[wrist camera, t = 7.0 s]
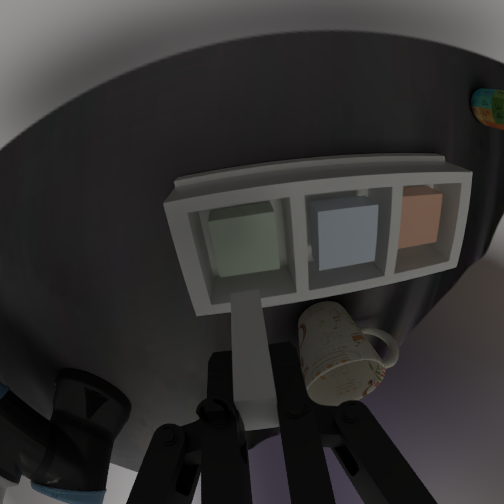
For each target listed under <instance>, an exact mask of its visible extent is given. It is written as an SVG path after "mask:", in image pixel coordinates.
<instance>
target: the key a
mask: <svg viewBox="0 0 504 504" xmlns="http://www.w3.org/2000/svg"><path fill="white" fill-rule="evenodd" d="M208 226H209V230H210V235H211V239H212V244H213V248H214V253H215V257H216V262H217V266H218V270H219V275H220V277H227V276H234V275H241V274H248V273H255V272H261V271H268V270H275V269H280V262H279V252H278V242H277V232H276V223H275V214H274V210H273V207H272V205H271V202H266V203H259V204H252V205H245V206H239V207H232V208H226V209H220V210H214V211H210V214H209V218H208Z"/></svg>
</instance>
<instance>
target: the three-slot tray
mask: <svg viewBox="0 0 504 504" xmlns="http://www.w3.org/2000/svg"><path fill="white" fill-rule="evenodd" d="M174 183H175V188H174V189H173V191H172V192H171V193H170V195H169V196H168V197H167V199H166V200H165V201H164V203H163V205H164V209H165V213H166V217H167V220H168V224H169V228H170V232H171V235H172V239H173V242H174V246H175V249H176V253H177V256H178V260H179V263H180V266H181V270H182V273H183V276H184V279H185V282H186V286H187V289H188V292H189V295H190V298H191V301H192V304H193V307H194V310H195V313H196V316H203V315H211V314H219V313H227V312H231V293H237V292H244V291H250V290H257V289H259V292H260V298H261V305H262V308H263V307H270V306H276V305H282V304H289V303H295V302H300V301H306V300H312V299H318V298H323V297H328V296H334V295H339V294H344V293H349V292H354V291H359V290H364V289H368V288H373V287H378V286H382V285H387V284H391V283H396V282H400V281H404V280H408V279H412V278H417V277H421V276H425V275H429V274H432V273H436V272H440V271H444V270H448V269H451V268H455V267H457V263H458V259H459V255H460V250H461V246H462V241H463V237H464V231H465V226H466V220H467V214H468V208H469V200H470V192H471V183H472V172H471V171H469V170H466V169H464V168H461V167H459V166H456V165H454V164H451V163H448V162H446V161H445V156H442V155H439V154H435V153H378V154H353V155H336V156H323V157H311V158H300V159H291V160H282V161H273V162H266V163H258V164H251V165H244V166H237V167H231V168H225V169H219V170H213V171H207V172H202V173H197V174H191V175H186V176H181V177H177V178H176V180H175V181H174ZM421 186H429V187H431V188H433V189H435V190H437V191H439V192H441V193H442V194H443V196H442V205H441V214H440V221H439V228H438V234H437V240H436V242H433V243H428V244H422V245H417V246H412V247H406V248H401V249H398V242H399V233H400V223H401V211H402V196H403V188H406V187H421ZM364 195H366V196H367V197H369V198H370V199H371V200H373V201H374V202H376V203H377V204H378V205H379V206H378V226H377V240H376V251H375V261H371V262H366V263H360V264H355V265H349V266H343V267H338V268H332V269H326V270H320V271H319V269H318V267H317V265H316V263H315V261H314V259H313V257H312V246H311V223H310V205H309V202H310V201H318V200H327V199H336V198H345V197H354V196H364ZM266 202H271V205H272V207H273V210H274V214H275V223H276V232H277V242H278V252H279V262H280V269H275V270H268V271H261V272H255V273H248V274H241V275H234V276H227V277H220V275H219V270H218V266H217V262H216V257H215V253H214V248H213V244H212V239H211V235H210V230H209V226H208V218H209V214H210V211H214V210H220V209H226V208H232V207H239V206H245V205H252V204H259V203H266Z"/></svg>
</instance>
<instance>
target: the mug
mask: <svg viewBox="0 0 504 504" xmlns="http://www.w3.org/2000/svg"><path fill="white" fill-rule="evenodd" d="M364 334H371V335H375V336H377V337H379V338H381V339H382V340H384V341H385V342H386V343H387V345H388V347H389V354H388V356H387V358H385V359H382V360H381V358H380V357H379V355H378V354H377V352H376V351H375V350H374V348H373V347H372V345H371V344H370V343H369V341H368V340H367V339H366V337H365V336H364ZM298 335H299V346H300V358H301V370H302V373H303V377H304V381H305V385H306V389H307V393H308V395H309V397H310V398H311V399H312V400H313V401H314V402H316V403H318V404H320V405H328V406H338V405H340V404H341V403H342V402H345V401H348V400H359V399H361V398H363V397H364V396H366V395H367V394H369V393H370V392H371V391H373V390H374V389H375V388H376V387H377V386H378V385H379V384H380V382H381V381H382V379H383V378H384V375H385V369H386V368H389V367H392V366H393V365H394V364H395V363H396V362H397V360H398V356H399V347H398V345H397V343H396V341H395V340H394V338H393V337H392V336H390V335H389V334H388V333H386V332H384V331H382V330H379V329H376V328H373V327H362V328H358V326H357V325H356V323H355V322H354V321H353V319H352V318H351V317H350V315H349V314H348V313H347V311H346V310H345V309H344V307H343V306H342V305H340V304H339V303H337V302H333V301H323V302H319V303H316V304H314V305H312V306H310V307H309V308H307V309H306V310H305V311H304V312H303V313H302V315H301V316H300V318H299V321H298Z"/></svg>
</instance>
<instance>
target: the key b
mask: <svg viewBox="0 0 504 504" xmlns="http://www.w3.org/2000/svg"><path fill="white" fill-rule="evenodd" d="M309 205H310V223H311V246H312V257H313V259H314V261H315V263H316V265H317V267H318V269H319V271H320V270H326V269H332V268H338V267H343V266H349V265H355V264H360V263H366V262H371V261H375V251H376V240H377V226H378V206H379V205H378V204H377V203H376V202H374V201H373V200H371V199H370V198H369V197H367V196H366V195H364V196H354V197H345V198H336V199H327V200H318V201H310V202H309Z"/></svg>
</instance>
